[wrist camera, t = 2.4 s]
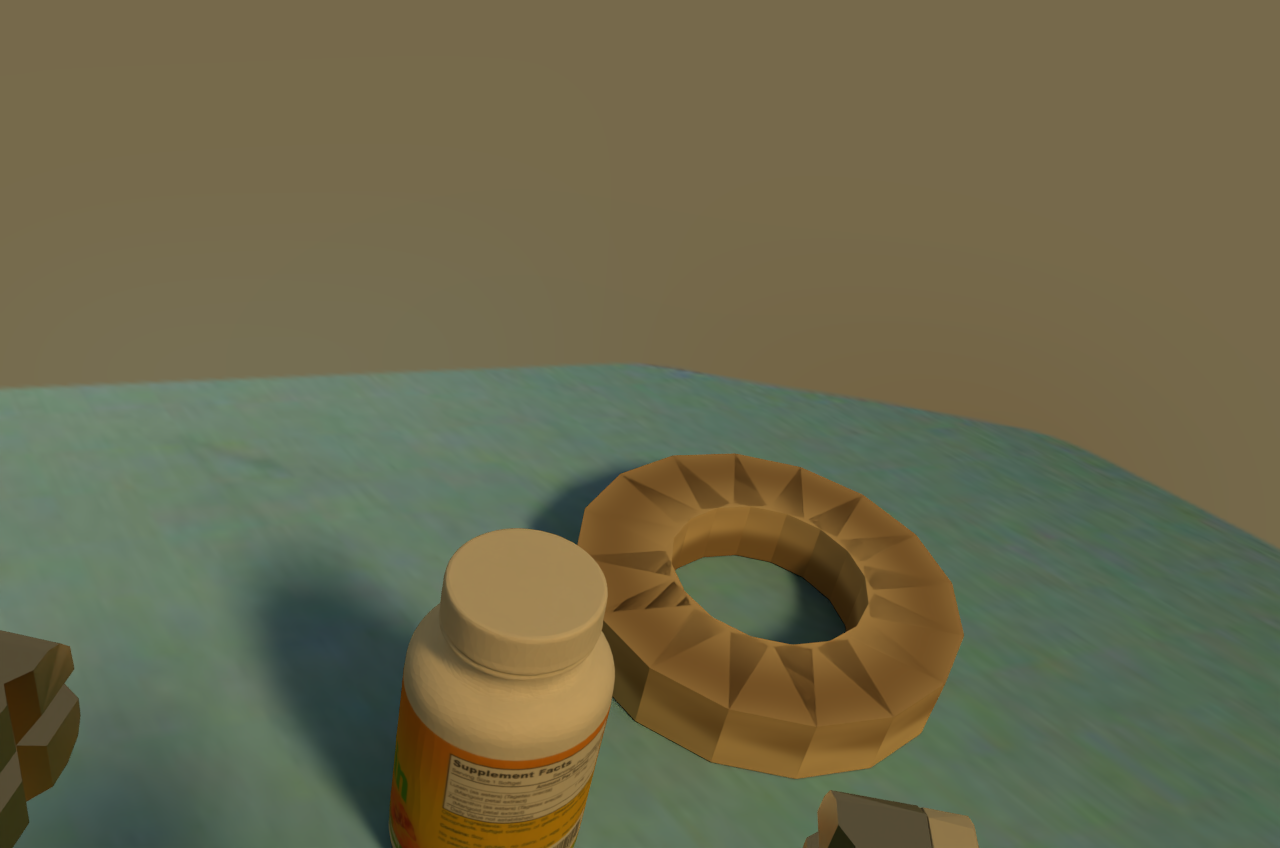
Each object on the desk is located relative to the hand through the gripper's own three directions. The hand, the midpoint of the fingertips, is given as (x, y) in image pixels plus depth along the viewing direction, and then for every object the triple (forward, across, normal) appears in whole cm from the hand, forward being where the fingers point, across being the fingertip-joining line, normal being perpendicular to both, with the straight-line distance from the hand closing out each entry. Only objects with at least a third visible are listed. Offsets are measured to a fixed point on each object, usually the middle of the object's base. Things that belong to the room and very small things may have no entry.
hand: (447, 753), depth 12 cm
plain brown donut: (+23, -8, +18) cm, 30 cm away
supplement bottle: (+12, 0, +18) cm, 22 cm away
